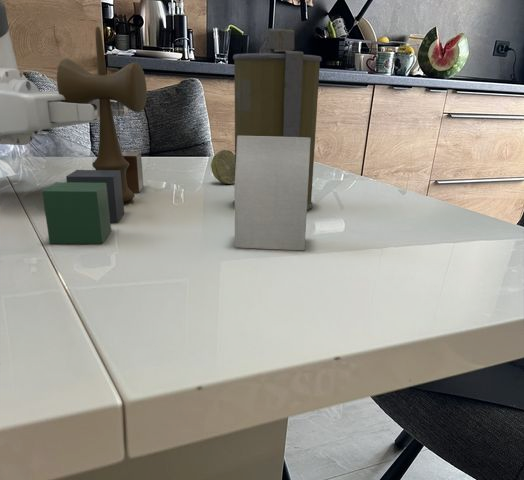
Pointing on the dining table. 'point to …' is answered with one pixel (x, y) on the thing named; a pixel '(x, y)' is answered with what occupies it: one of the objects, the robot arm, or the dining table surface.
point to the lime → (224, 167)
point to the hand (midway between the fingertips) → (111, 110)
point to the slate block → (113, 188)
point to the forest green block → (77, 213)
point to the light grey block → (271, 192)
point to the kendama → (105, 103)
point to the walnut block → (134, 171)
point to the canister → (277, 93)
